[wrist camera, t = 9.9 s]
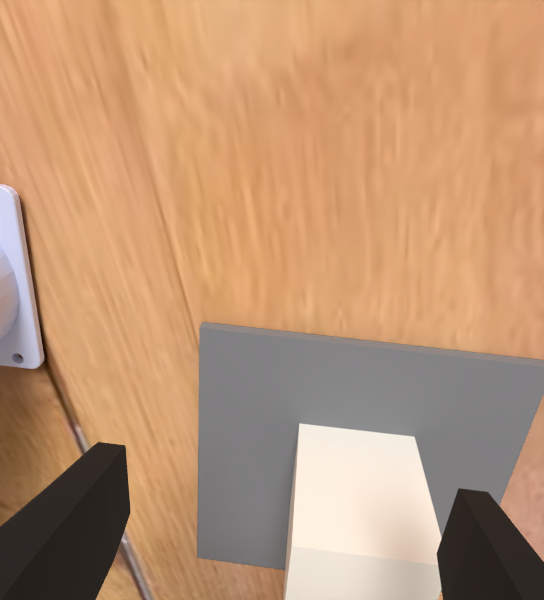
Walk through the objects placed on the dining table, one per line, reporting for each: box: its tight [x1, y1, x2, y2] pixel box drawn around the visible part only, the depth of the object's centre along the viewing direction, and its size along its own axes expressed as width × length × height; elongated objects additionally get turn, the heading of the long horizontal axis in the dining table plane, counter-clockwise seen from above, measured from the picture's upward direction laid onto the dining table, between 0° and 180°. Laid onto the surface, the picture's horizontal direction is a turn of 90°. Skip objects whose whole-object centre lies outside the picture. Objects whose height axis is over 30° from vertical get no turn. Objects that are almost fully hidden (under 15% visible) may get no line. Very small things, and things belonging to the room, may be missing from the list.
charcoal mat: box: [197, 322, 544, 592], centre depth 22 cm, size 14×14×1 cm
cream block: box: [283, 423, 442, 600], centre depth 19 cm, size 5×5×6 cm
